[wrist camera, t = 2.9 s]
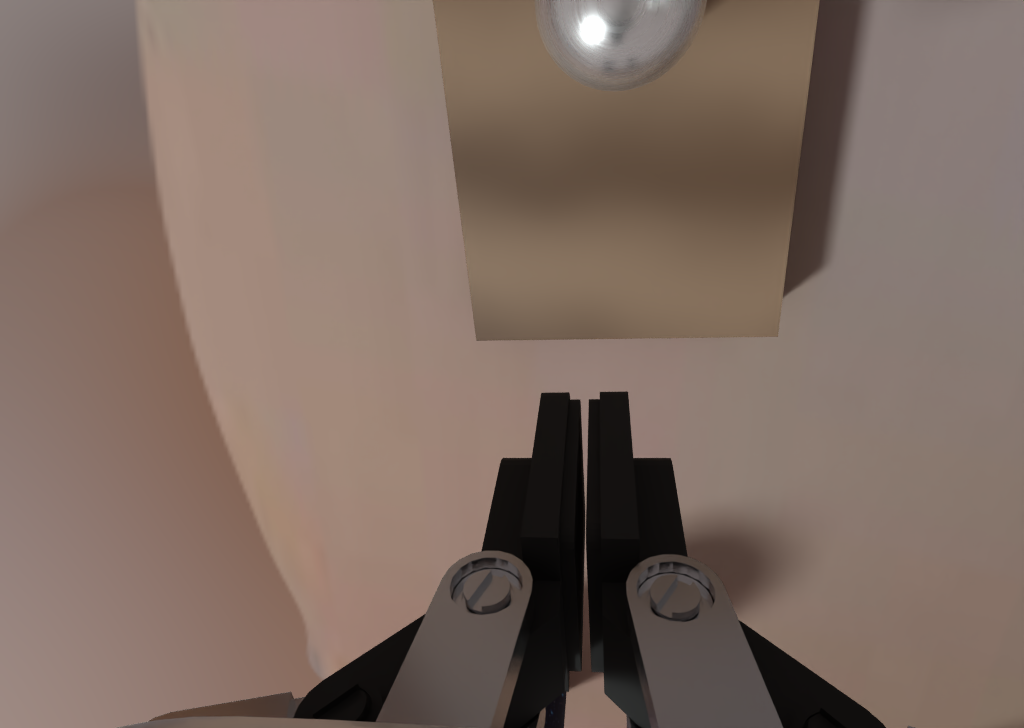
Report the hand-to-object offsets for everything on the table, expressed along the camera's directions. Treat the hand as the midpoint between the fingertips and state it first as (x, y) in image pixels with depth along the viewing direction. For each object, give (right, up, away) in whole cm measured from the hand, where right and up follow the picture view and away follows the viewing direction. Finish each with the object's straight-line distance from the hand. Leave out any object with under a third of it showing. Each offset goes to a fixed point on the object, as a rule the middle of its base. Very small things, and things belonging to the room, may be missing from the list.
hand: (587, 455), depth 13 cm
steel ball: (+1, +10, +2) cm, 11 cm away
